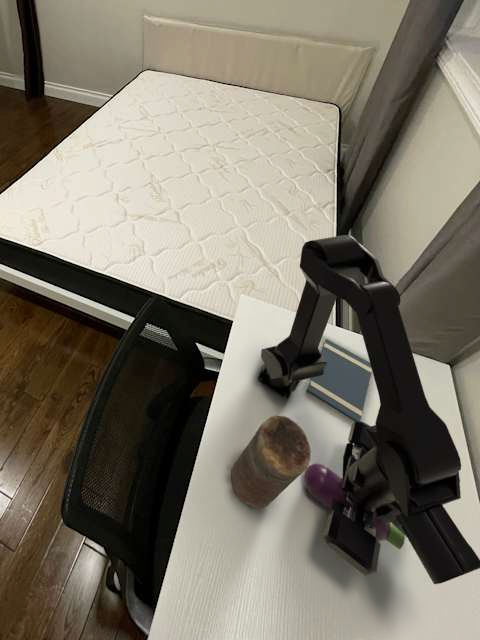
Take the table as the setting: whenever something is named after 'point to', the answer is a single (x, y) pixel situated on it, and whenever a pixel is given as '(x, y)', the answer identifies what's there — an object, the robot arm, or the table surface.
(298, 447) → the brown textured cylinder
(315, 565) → the table surface
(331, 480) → the eggplant
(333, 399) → the towel
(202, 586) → the table surface
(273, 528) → the table surface
